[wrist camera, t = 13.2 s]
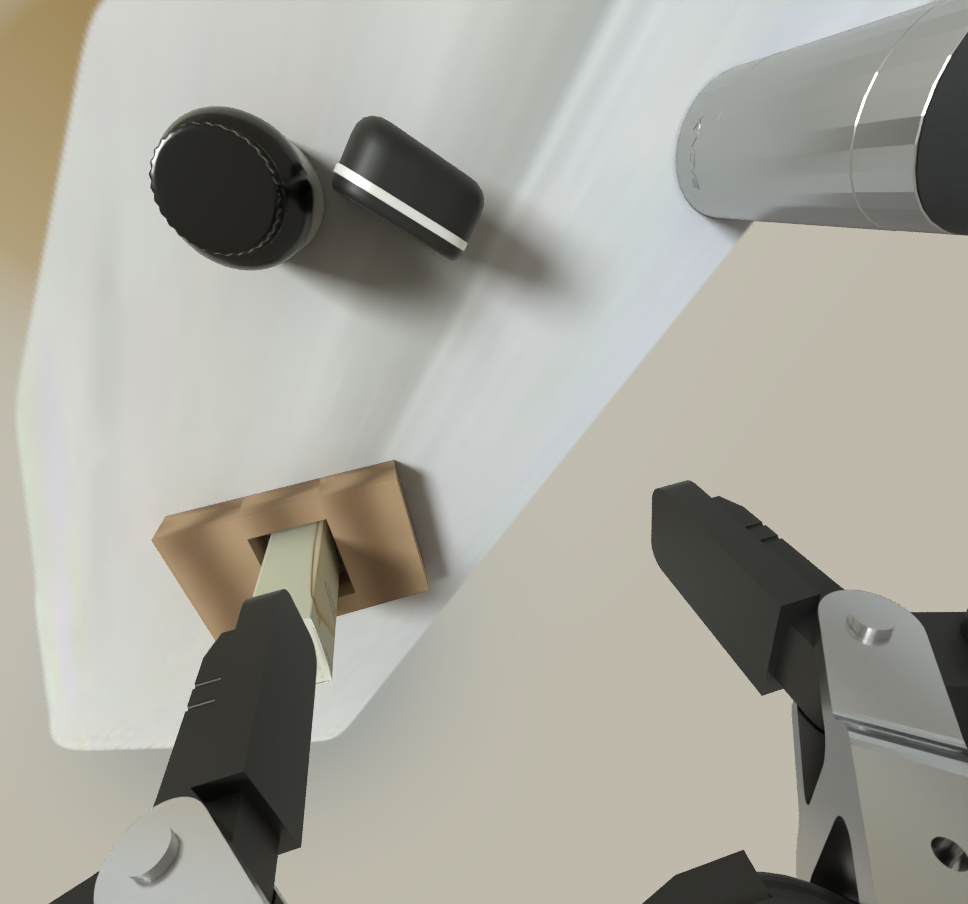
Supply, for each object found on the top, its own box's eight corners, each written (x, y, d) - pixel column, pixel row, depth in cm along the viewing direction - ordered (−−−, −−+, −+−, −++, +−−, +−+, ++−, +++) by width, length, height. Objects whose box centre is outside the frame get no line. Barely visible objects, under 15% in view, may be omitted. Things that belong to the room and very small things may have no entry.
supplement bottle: (342, 171, 30) (334, 160, 20) (301, 274, 32) (276, 312, 22) (224, 100, 27) (144, 45, 17) (188, 218, 30) (98, 232, 19)
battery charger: (459, 192, 32) (504, 191, 22) (432, 246, 33) (464, 269, 24) (359, 125, 29) (361, 91, 20) (334, 187, 30) (323, 184, 21)
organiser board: (393, 459, 40) (396, 478, 38) (424, 567, 46) (428, 590, 43) (165, 516, 38) (151, 540, 35) (228, 622, 44) (220, 649, 41)
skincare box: (341, 566, 44) (336, 683, 33) (289, 576, 43) (268, 699, 33) (325, 509, 41) (314, 618, 30) (269, 519, 40) (239, 634, 30)
